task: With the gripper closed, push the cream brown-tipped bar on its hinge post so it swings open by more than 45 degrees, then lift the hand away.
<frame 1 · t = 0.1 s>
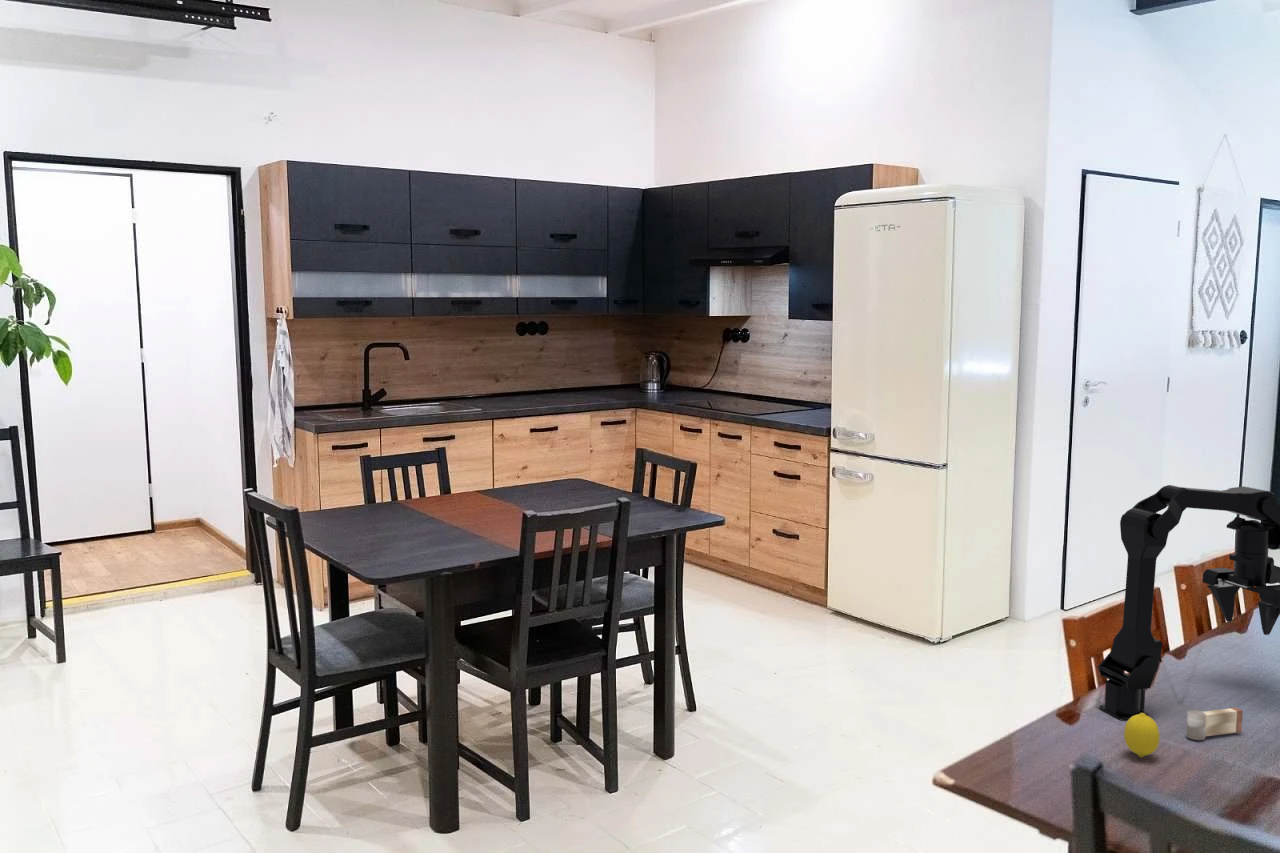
hand: (1247, 627, 206), 15 cm above the table, fingers open, 9 cm apart
lemon: (1140, 758, 181), on the table
cream brown-tipped bar: (1214, 722, 189), point 3 cm above the table, hinge at 0.0°
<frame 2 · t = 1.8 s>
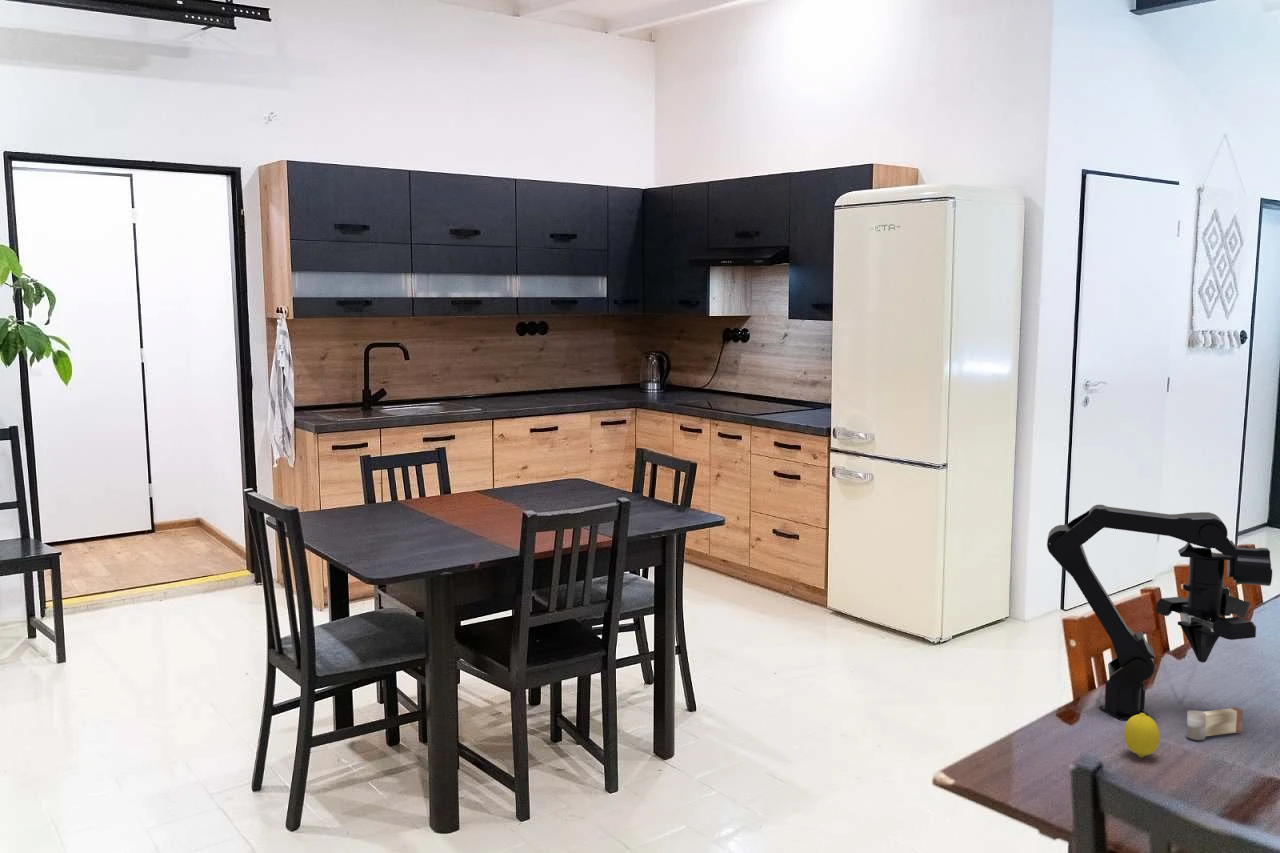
hand: (1202, 661, 194), 12 cm above the table, fingers closed
nothing on the table moved.
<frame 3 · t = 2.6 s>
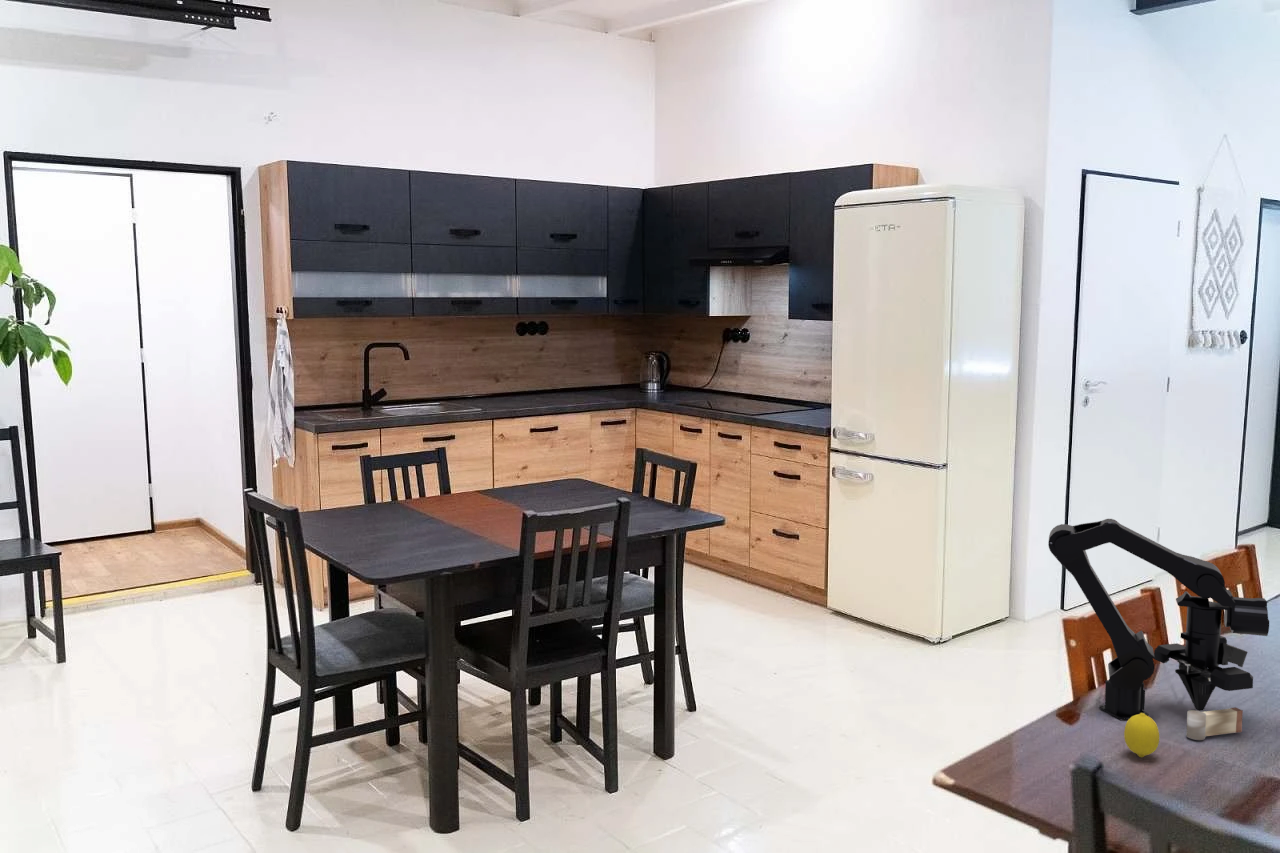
hand: (1199, 710, 195), 2 cm above the table, fingers closed
nothing on the table moved.
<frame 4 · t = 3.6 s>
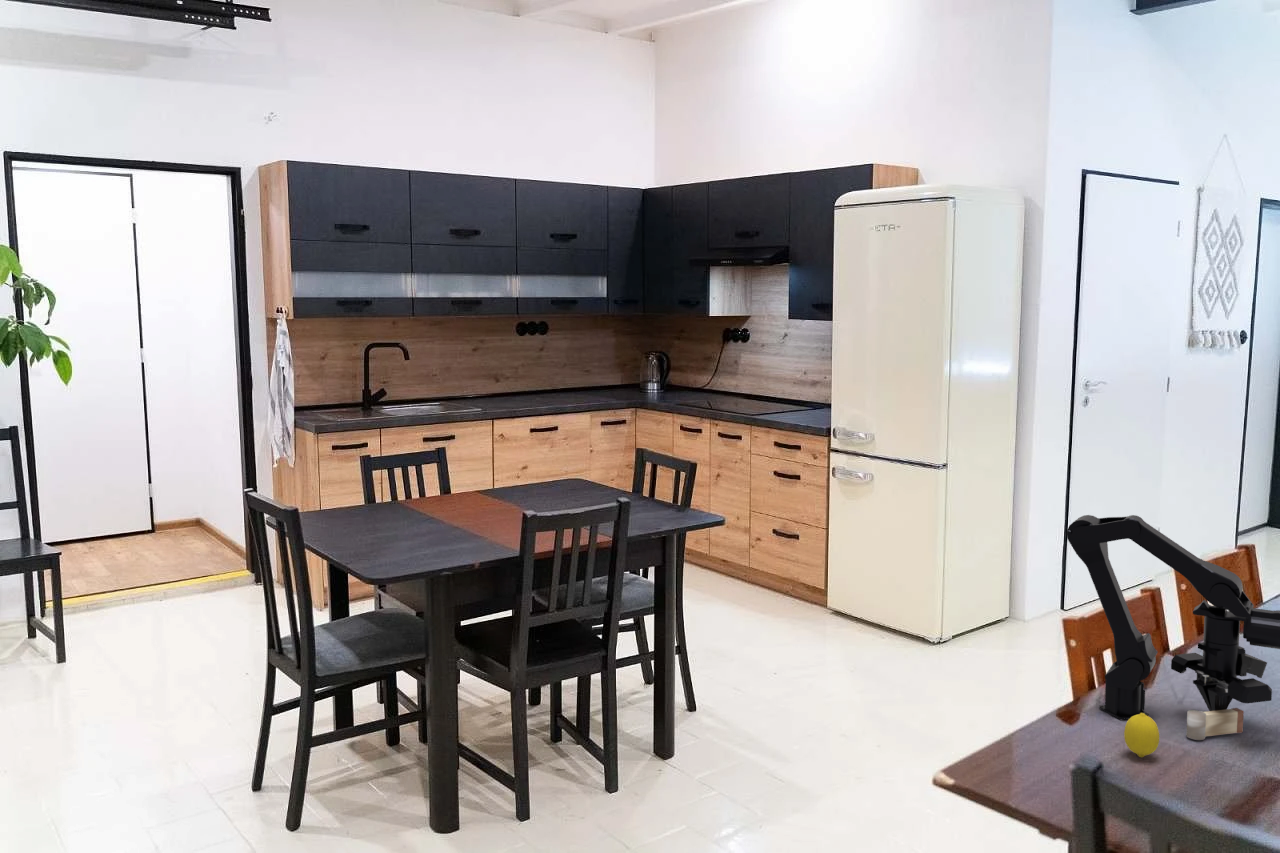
hand: (1217, 721, 192), 2 cm above the table, fingers closed
cream brown-tipped bar: (1214, 722, 188), point 3 cm above the table, hinge at 1.5°, touching gripper
everything else where it was.
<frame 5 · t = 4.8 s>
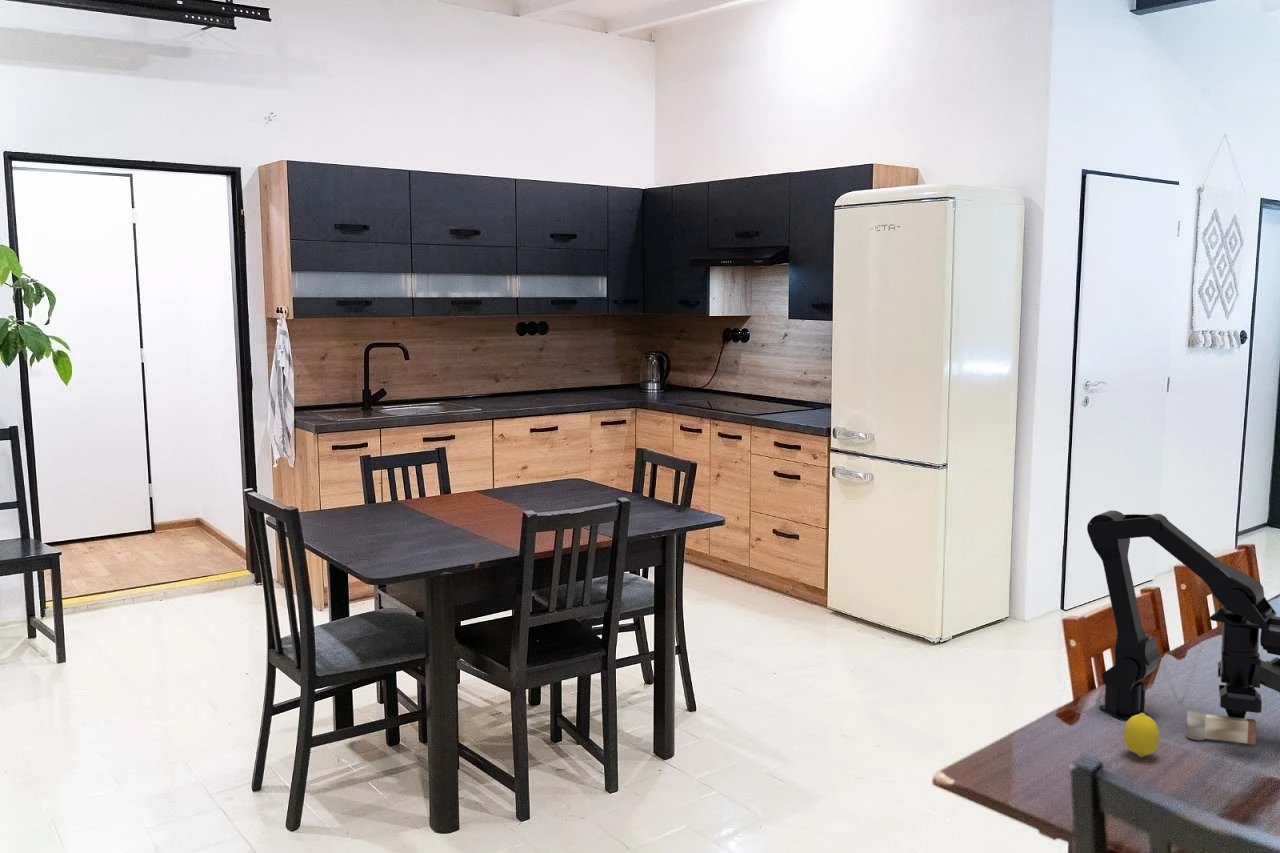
hand: (1236, 729, 187), 2 cm above the table, fingers closed
cream brown-tipped bar: (1220, 727, 186), point 3 cm above the table, hinge at 35.8°, touching gripper
everything else where it was.
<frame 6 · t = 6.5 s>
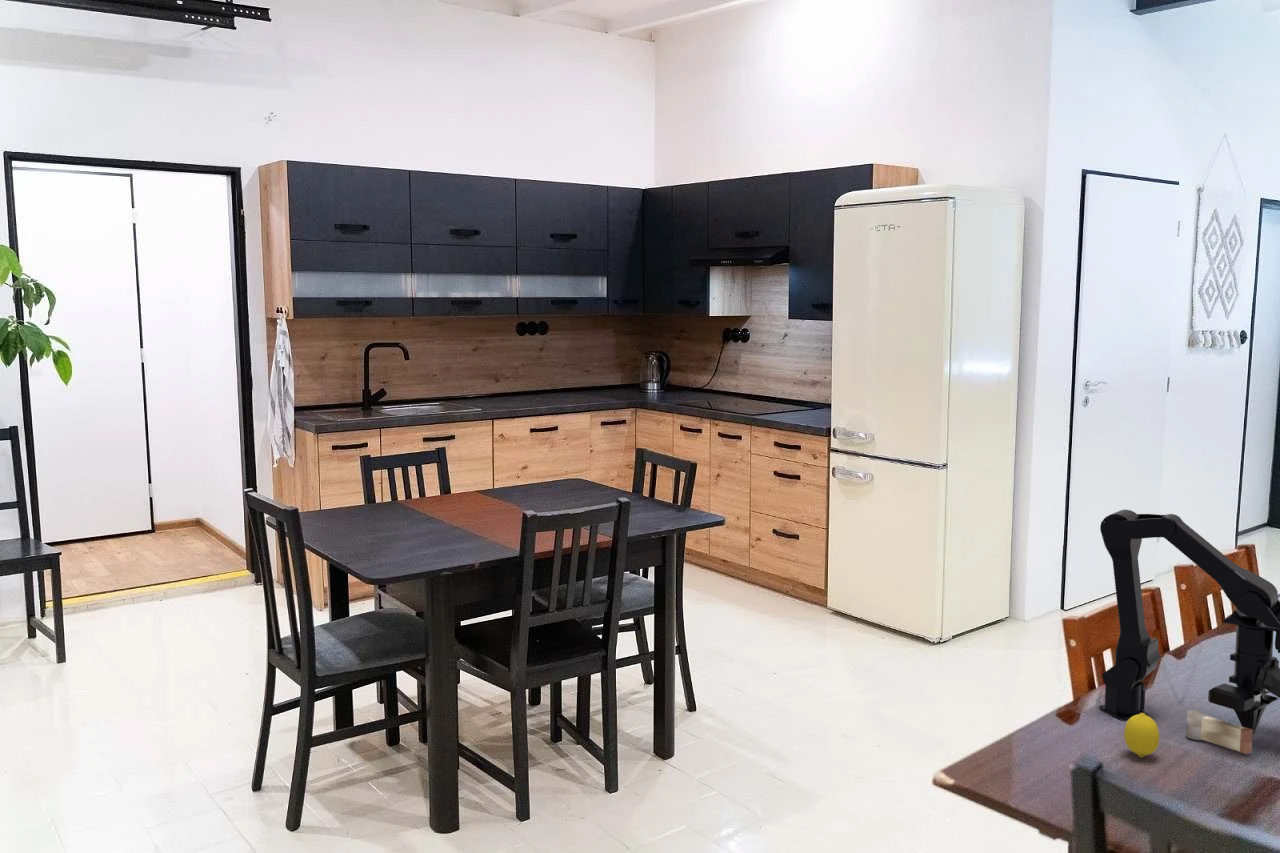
hand: (1249, 734, 186), 2 cm above the table, fingers closed
cream brown-tipped bar: (1218, 731, 184), point 3 cm above the table, hinge at 69.6°
everything else where it was.
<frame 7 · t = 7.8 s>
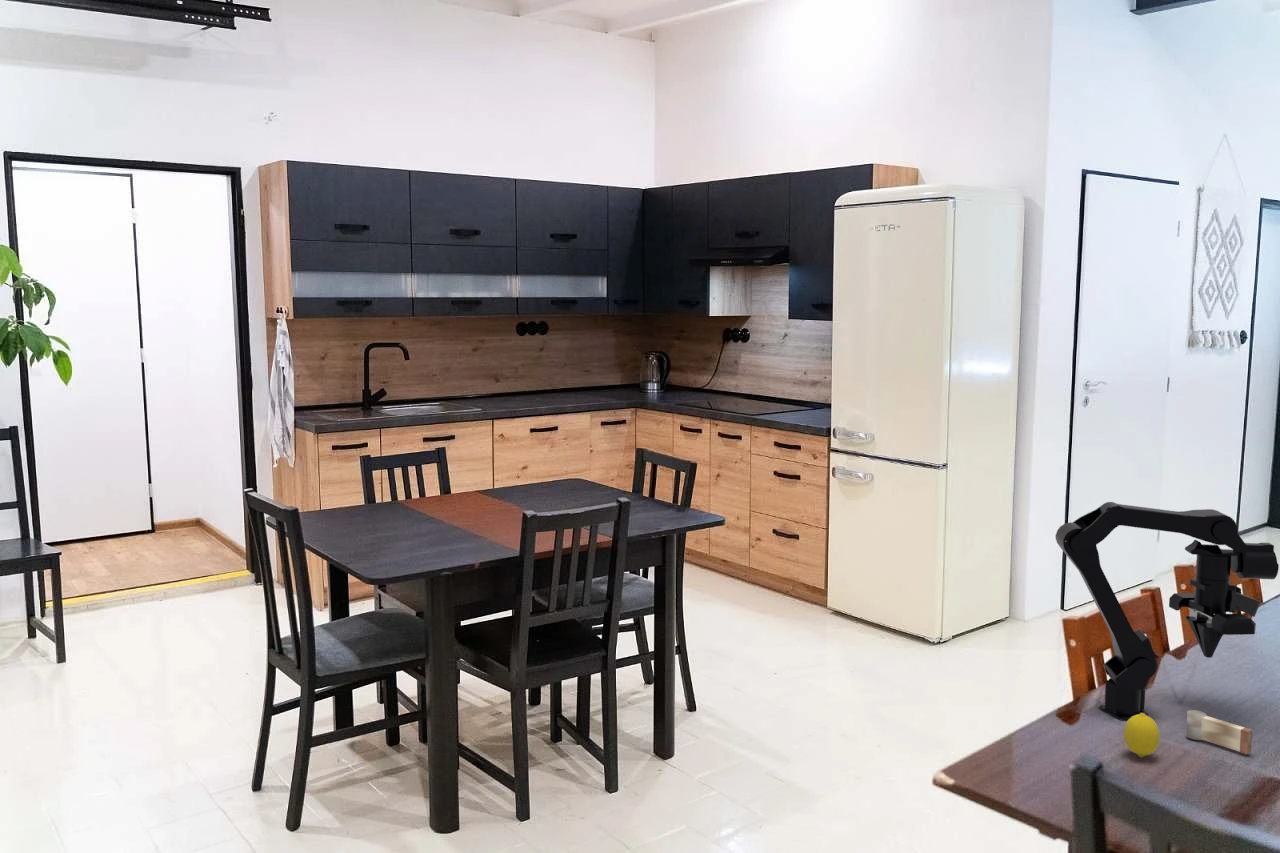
hand: (1208, 656, 197), 12 cm above the table, fingers closed
nothing on the table moved.
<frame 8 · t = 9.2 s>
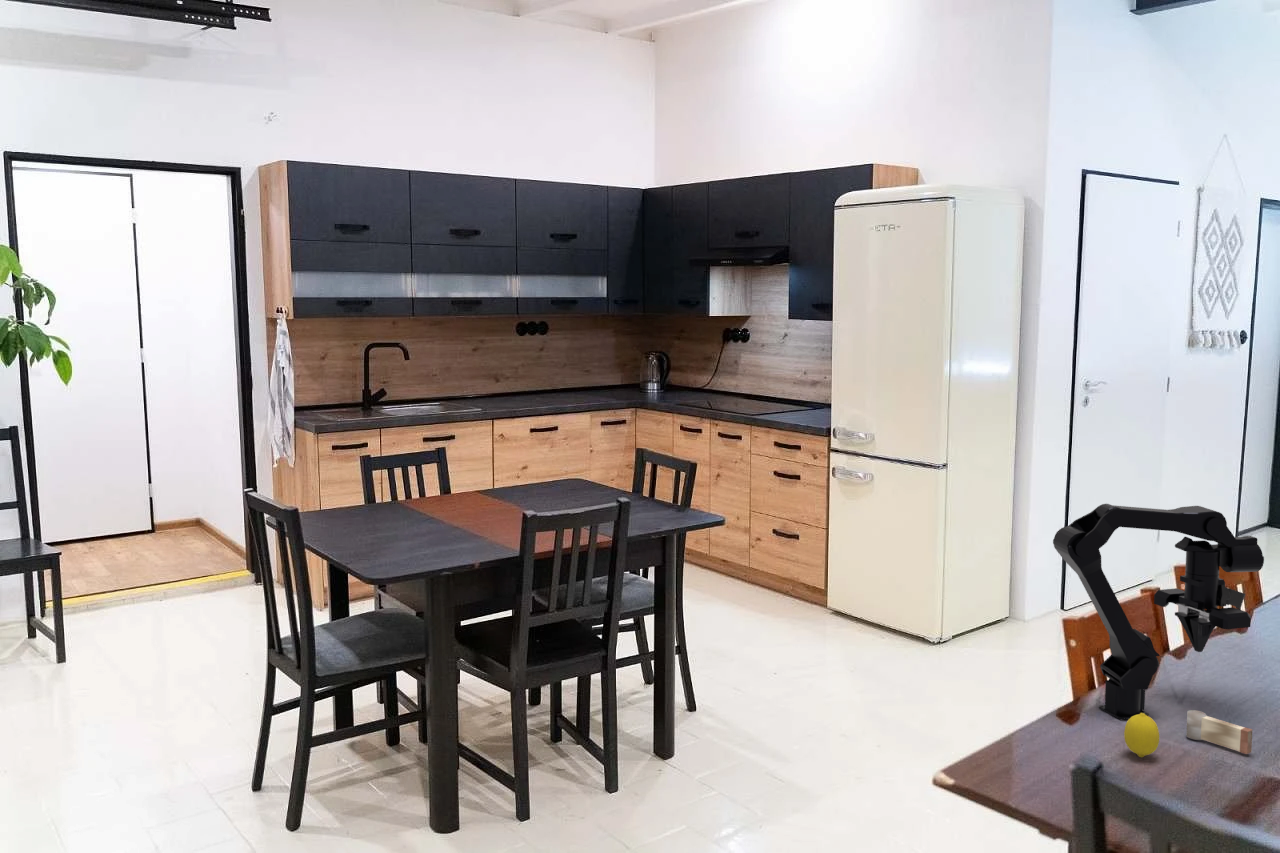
hand: (1198, 651, 200), 12 cm above the table, fingers closed
nothing on the table moved.
at the end: cream brown-tipped bar at +70° (first picture: +0°); lemon moved 0.2 cm from its start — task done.
